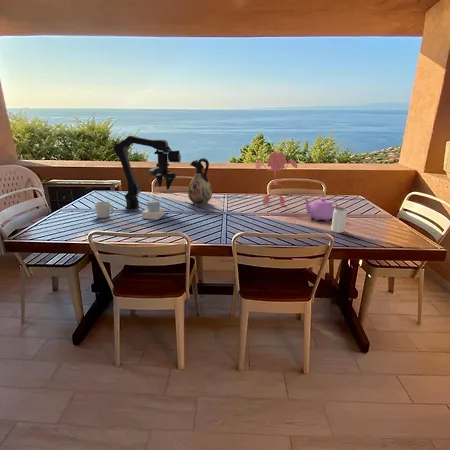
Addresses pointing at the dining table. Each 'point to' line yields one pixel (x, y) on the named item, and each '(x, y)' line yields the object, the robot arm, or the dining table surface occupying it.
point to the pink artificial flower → (275, 163)
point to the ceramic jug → (200, 184)
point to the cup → (103, 209)
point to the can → (339, 220)
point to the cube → (153, 206)
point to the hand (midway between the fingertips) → (163, 188)
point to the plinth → (152, 214)
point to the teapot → (321, 209)
